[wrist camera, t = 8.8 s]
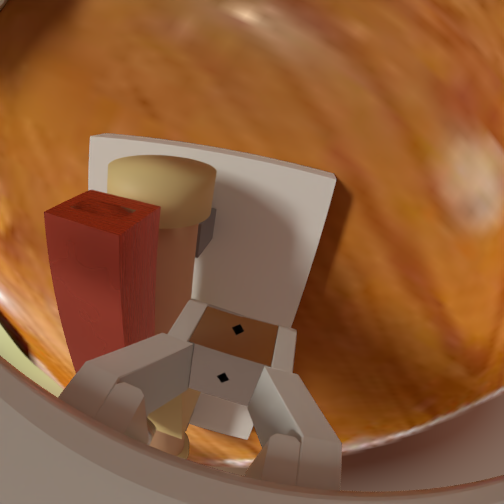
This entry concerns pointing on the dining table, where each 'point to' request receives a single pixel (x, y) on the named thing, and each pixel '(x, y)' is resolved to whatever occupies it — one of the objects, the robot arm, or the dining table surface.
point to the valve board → (217, 245)
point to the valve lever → (104, 273)
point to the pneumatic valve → (2, 3)
